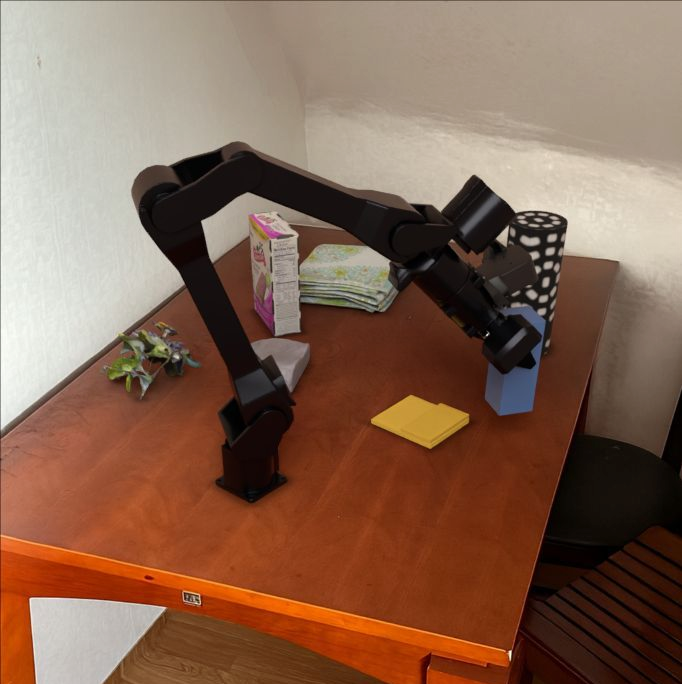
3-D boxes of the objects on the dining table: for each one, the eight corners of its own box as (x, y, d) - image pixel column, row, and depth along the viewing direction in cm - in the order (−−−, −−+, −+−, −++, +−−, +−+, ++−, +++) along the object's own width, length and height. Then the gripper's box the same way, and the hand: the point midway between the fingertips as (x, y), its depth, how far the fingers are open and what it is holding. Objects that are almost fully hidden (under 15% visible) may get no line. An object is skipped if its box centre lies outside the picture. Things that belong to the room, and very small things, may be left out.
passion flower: (173, 408, 142) (216, 351, 136) (140, 432, 132) (184, 371, 126) (116, 359, 141) (156, 299, 135) (78, 379, 131) (120, 315, 126)
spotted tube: (485, 339, 150) (499, 214, 138) (531, 331, 152) (548, 208, 140) (511, 361, 143) (527, 232, 131) (558, 353, 146) (579, 226, 134)
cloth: (430, 449, 123) (430, 440, 122) (370, 423, 128) (371, 415, 127) (469, 422, 129) (469, 414, 128) (410, 398, 134) (411, 390, 133)
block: (499, 416, 118) (510, 324, 111) (484, 398, 122) (494, 309, 115) (532, 411, 120) (546, 320, 112) (516, 394, 123) (529, 305, 116)
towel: (281, 304, 160) (281, 275, 157) (321, 260, 176) (320, 233, 173) (385, 318, 155) (386, 289, 152) (415, 272, 172) (417, 244, 169)
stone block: (231, 401, 136) (296, 396, 133) (223, 370, 134) (289, 365, 131) (254, 366, 146) (316, 361, 143) (247, 337, 143) (309, 331, 141)
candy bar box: (252, 310, 157) (246, 213, 148) (280, 306, 159) (277, 209, 149) (272, 338, 149) (268, 237, 139) (302, 333, 151) (300, 232, 141)
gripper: (537, 258, 99) (611, 342, 108) (468, 203, 113) (538, 281, 122) (461, 335, 102) (539, 411, 111) (403, 272, 116) (477, 343, 125)
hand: (524, 357), depth 117 cm, fingers closed on block, 4 cm apart
